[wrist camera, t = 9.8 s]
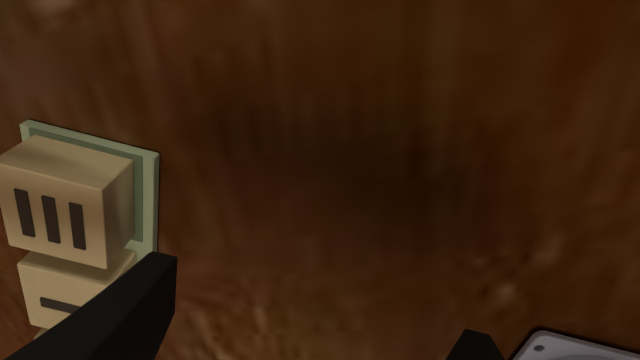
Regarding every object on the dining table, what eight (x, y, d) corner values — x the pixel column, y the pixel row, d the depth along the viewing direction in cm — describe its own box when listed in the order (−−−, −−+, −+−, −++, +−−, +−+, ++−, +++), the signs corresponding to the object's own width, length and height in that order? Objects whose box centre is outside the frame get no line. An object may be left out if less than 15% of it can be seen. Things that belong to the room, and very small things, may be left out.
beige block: (134, 234, 20) (105, 272, 18) (46, 212, 20) (7, 247, 18) (133, 159, 18) (100, 191, 16) (34, 133, 18) (-13, 162, 16)
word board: (154, 362, 27) (130, 410, 24) (64, 339, 27) (29, 386, 24) (160, 153, 19) (123, 191, 16) (28, 118, 18) (-32, 151, 16)
